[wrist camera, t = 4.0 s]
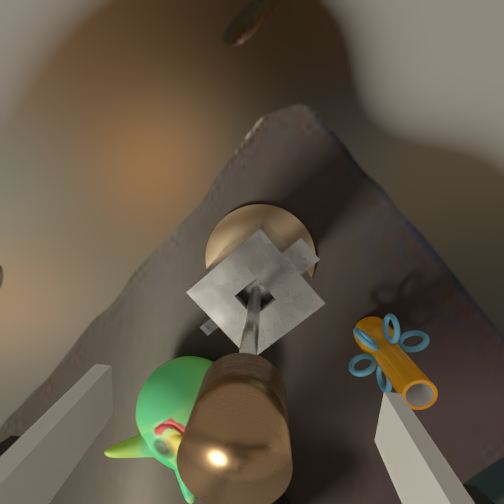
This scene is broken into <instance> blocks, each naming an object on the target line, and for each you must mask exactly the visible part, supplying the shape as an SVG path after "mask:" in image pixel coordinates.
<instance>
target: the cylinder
mask: <svg viewBox="0 0 504 504" xmlns="http://www.w3.org/2000/svg"><path fill="white" fill-rule="evenodd" d="M390 319H391V320H392V323H393V326H394V330H393V329H392V328H391V327H390V326H389V325H388V324H389V320H390ZM353 333H354V338H355V341H356V342H357V344H358V346H359V347H360V349H361V350H362V352H363V353H364V354H359V355H357V356H355V357H354V358H352V359H351V361H350V362H349V366H348V367H349V371H350V372H351V373H352V374H353V375H355V376H359V377H362V376H367V375H369V374H371V373H372V372H373V371H374V370H375V368H376V366H377V363H378V366H377V370H376V376H377V381H378V385H379V387H380V389H381V390H382V391H383V392H390V391H391V389H392V386H393V387H394V389H395V390H396V392H397V393H401V395H402V396H403V398H404V399H405V401H406V402H407V403H408V405H409V406H410V408H411V409H414V410H423V409H426V408H428V407H430V406H431V405H433V404H434V402H435V401H436V399H437V396H438V392H437V389H436V387H435V386H434V384H433V383H432V382H431V381H430V380H429V379H428V378H427V377H426V375H425V374H424V373H423V372H422V371H421V370H420V369H419V368H418V366H417V365H416V364H415V363H414V362H413V361H412V360H411V359H410V357H409V356H408V355H407V354H406V353H405V352H418V351H421V350H423V349H425V348H426V347H427V346H428V344H429V337H428V335H427V334H426V333H424V332H422V331H418V330H412V331H408V332H405V333H403V334H402V335H400V325H399V322H398V319H397V318H396V316H395V315H393V314H387V315H386V316H385V317H384V320H383V319H381V318H379V317H375V316H369V317H365V318H363V319H361V320H360V321H359V322H358V323H357V324H356V325H355V328H354V329H353ZM410 336H421V337H422V338H423V341H422V342H421V343H420V344H419V345H416V346H412V347H408V346H405V345H403V341H404V340H405V339H406V338H408V337H410ZM404 351H405V352H404ZM361 359H369V360H370V361H371V365H370V366H369V367H368V368H367V369H365V370H362V371H357V370H355V369H354V365H355V363H356V362H358V361H359V360H361ZM382 371H383V372H384V374H385V375H386V380H387V383H386V387H385V386H384V383H383V380H382Z"/></svg>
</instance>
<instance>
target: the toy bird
mask: <svg viewBox="0 0 504 504" xmlns="http://www.w3.org/2000/svg"><path fill="white" fill-rule="evenodd" d="M213 363H214V362H212V361H210V360H208V359H205V358H201V357H196V356H184V357H178V358H175V359H172V360H170V361H168V362H166V363H164V364H163V365H161V366H160V367H159V368H157V369H156V370H155V371H154V372H153V373H152V374H151V375H150V377H149V378H148V379H147V381H146V382H145V384H144V385H143V387H142V389H141V392H140V394H139V397H138V400H137V405H136V424H137V428H138V432H139V434H138V435H136V436H134V437H132V438H129V439H127V440H125V441H122V442H120V443H118V444H115V445H113V446H111V447H109V448H108V449H106V450H105V452H104V453H105V455H106V456H108V457H112V458H136V457H155V458H156V459H158V460H159V461H160V462H162V463H163V464H165V465H166V466H168V467H170V468H172V469H174V470H175V473H176V476H177V479H178V482H179V485H180V487H181V490H182V493H183V495H184V497H185V499H186V501H187V502H188V503H190V504H192V503H194V501H195V498H196V496H194V495H193V494H192V493H191V492H190V491H189V490H188V489H187V487H186V486H185V485H184V483H183V481H182V480H181V478H180V475H179V472H178V468H177V460H176V459H177V451H178V448H179V445H180V442H181V439H182V436H183V434H184V431H185V428H186V425H187V422H188V420H189V417H190V414H191V411H192V408H193V406H194V403H195V400H196V397H197V394H198V392H199V389H200V386H201V383H202V380H203V378H204V375H205V373H206V371H207V370H208V368H209V367H210V366H211V365H212V364H213Z"/></svg>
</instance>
